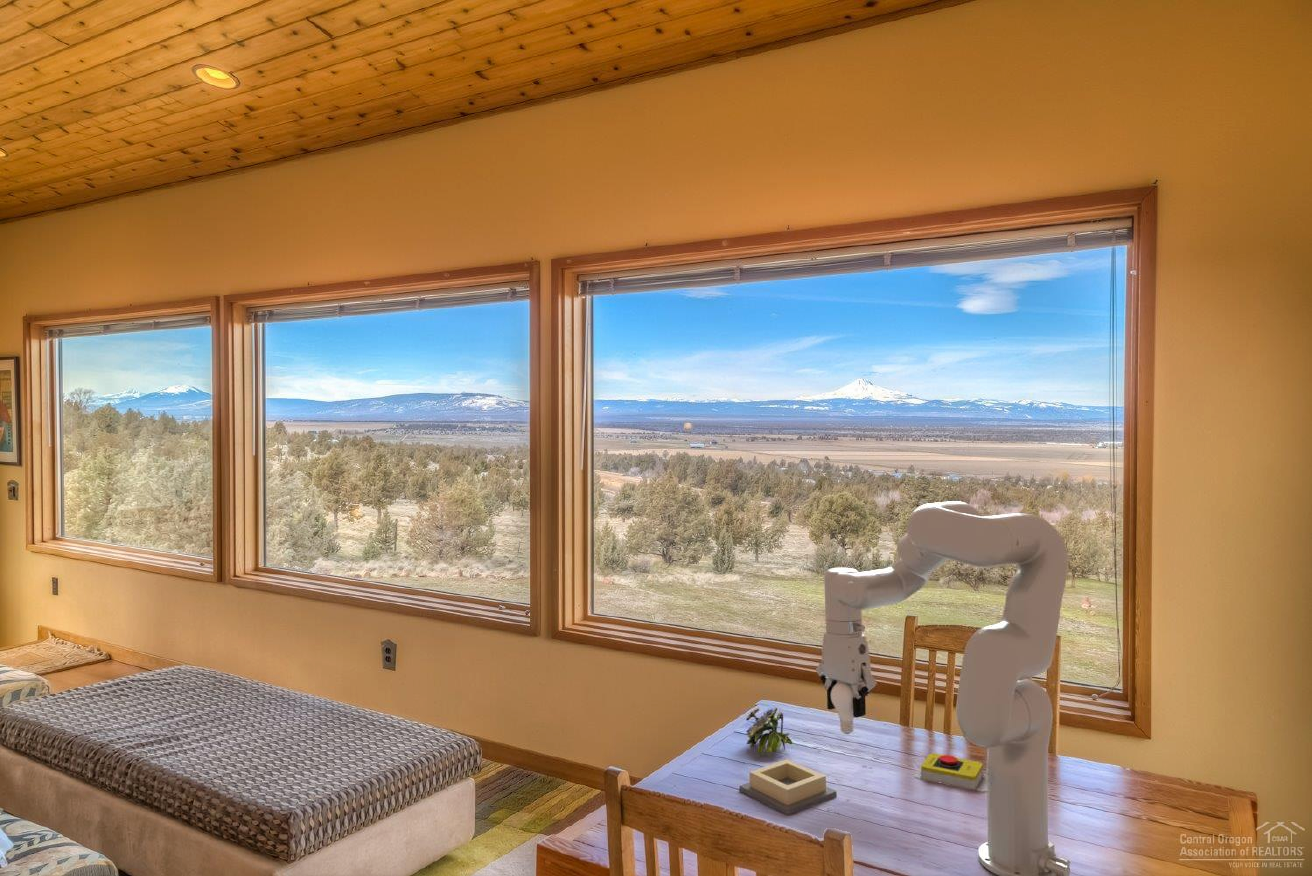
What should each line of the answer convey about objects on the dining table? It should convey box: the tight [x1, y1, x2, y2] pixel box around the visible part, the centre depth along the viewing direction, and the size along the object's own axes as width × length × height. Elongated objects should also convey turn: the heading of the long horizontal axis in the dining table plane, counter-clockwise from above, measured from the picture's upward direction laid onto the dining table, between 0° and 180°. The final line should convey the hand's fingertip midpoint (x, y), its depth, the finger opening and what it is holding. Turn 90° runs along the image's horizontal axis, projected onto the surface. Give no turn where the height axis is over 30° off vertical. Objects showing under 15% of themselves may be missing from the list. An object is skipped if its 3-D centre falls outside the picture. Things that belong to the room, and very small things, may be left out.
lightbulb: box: [831, 681, 860, 735], centre depth 174 cm, size 6×6×11 cm
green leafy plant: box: [745, 707, 793, 758], centre depth 195 cm, size 11×11×12 cm
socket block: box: [739, 758, 837, 816], centre depth 170 cm, size 14×14×4 cm
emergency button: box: [913, 752, 987, 793], centre depth 178 cm, size 9×4×15 cm
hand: (846, 711), depth 174 cm, fingers closed on lightbulb, 6 cm apart
